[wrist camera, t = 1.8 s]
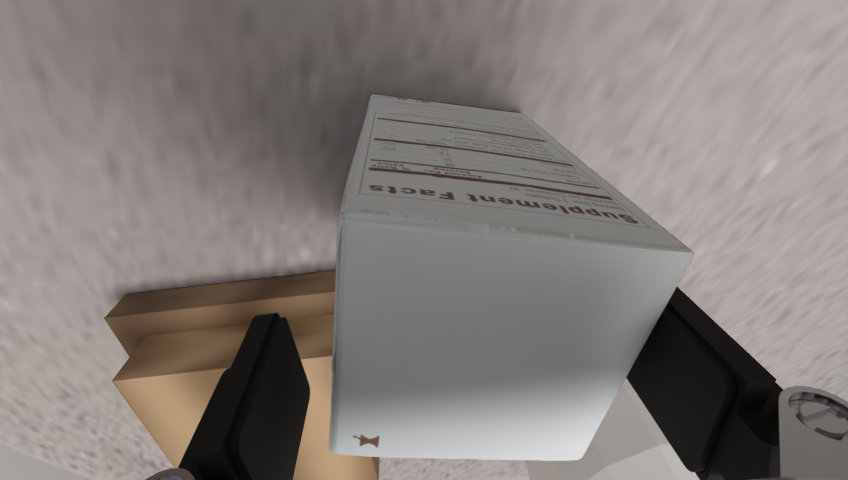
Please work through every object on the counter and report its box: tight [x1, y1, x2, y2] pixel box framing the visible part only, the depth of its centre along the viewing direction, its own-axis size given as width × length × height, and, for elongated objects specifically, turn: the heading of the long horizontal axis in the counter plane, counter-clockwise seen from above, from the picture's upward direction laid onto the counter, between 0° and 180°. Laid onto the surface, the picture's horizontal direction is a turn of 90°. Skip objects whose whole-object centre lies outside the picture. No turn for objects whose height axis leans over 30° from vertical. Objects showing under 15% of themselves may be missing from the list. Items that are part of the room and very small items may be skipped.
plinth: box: [104, 270, 379, 480], centre depth 24 cm, size 14×14×5 cm
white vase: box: [525, 378, 700, 480], centre depth 22 cm, size 13×13×14 cm
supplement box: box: [329, 94, 694, 461], centre depth 15 cm, size 7×7×13 cm
